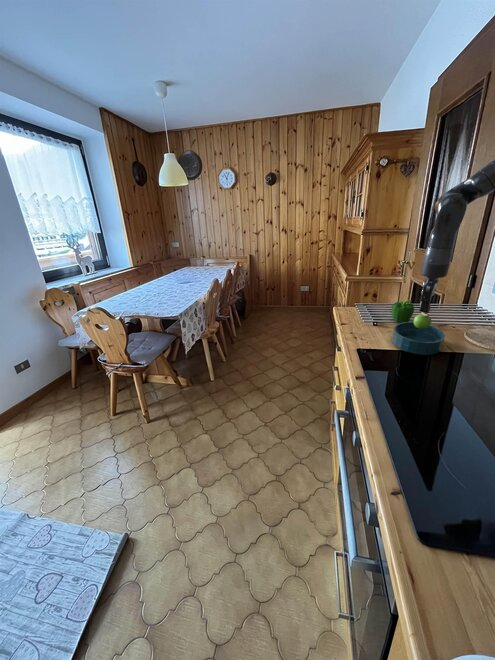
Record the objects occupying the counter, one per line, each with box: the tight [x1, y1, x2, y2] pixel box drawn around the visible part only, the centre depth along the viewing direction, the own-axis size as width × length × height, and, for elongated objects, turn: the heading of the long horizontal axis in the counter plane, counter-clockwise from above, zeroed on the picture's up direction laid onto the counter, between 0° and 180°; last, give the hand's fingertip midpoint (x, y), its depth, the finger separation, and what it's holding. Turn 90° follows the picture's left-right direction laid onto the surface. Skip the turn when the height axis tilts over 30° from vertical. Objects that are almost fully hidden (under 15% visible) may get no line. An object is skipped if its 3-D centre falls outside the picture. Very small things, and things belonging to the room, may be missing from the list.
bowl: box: [391, 321, 446, 356], centre depth 105 cm, size 16×16×6 cm
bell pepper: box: [391, 299, 415, 324], centre depth 121 cm, size 8×8×10 cm
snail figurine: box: [413, 296, 432, 329], centre depth 100 cm, size 5×6×12 cm
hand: (424, 308), depth 99 cm, fingers closed on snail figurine, 5 cm apart
